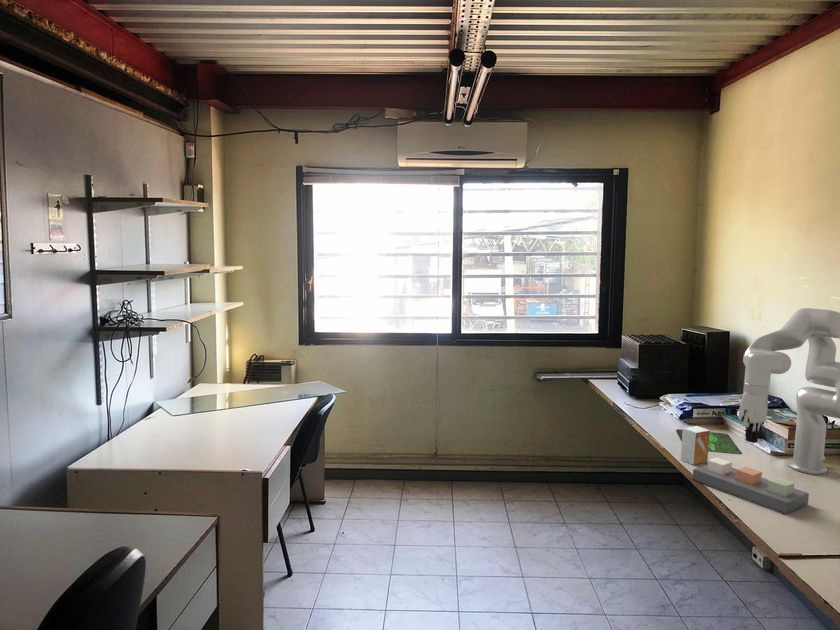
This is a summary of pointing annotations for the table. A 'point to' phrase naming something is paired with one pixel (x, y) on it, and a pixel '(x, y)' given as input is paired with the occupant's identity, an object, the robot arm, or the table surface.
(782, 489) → the sage key
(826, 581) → the table surface
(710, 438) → the mouse mat
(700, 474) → the key console
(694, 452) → the small box
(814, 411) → the robot arm
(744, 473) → the terracotta key
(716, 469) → the cream key
